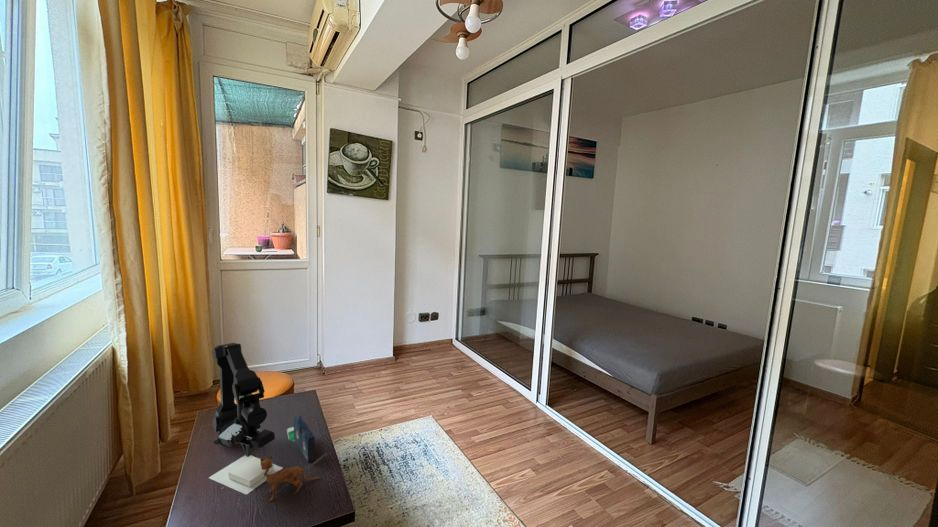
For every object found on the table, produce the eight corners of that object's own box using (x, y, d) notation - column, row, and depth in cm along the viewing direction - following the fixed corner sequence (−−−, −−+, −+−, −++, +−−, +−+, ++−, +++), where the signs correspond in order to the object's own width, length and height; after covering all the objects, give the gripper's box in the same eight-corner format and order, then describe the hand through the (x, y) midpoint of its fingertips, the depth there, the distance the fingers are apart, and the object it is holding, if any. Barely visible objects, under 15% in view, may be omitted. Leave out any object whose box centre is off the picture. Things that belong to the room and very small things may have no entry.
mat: (208, 479, 122) (208, 477, 122) (247, 455, 135) (247, 453, 135) (246, 496, 115) (246, 494, 115) (283, 469, 128) (283, 467, 128)
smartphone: (304, 424, 156) (310, 442, 144) (304, 425, 156) (310, 444, 144) (286, 428, 152) (290, 447, 140) (286, 430, 152) (290, 449, 140)
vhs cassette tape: (314, 462, 133) (314, 436, 132) (306, 465, 131) (306, 439, 130) (301, 437, 147) (301, 414, 146) (293, 440, 145) (293, 416, 144)
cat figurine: (316, 475, 127) (318, 437, 126) (321, 486, 122) (323, 447, 121) (257, 494, 116) (259, 453, 115) (261, 507, 111) (262, 465, 110)
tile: (228, 472, 122) (249, 481, 118) (253, 456, 130) (273, 464, 126) (228, 478, 122) (249, 487, 118) (253, 462, 130) (273, 470, 127)
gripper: (204, 417, 118) (205, 462, 120) (244, 432, 111) (245, 479, 113) (236, 402, 128) (237, 444, 130) (275, 415, 122) (276, 458, 123)
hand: (248, 456), depth 124 cm, fingers closed
